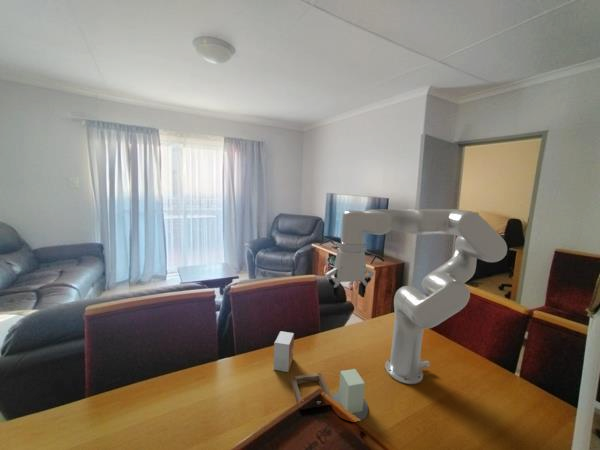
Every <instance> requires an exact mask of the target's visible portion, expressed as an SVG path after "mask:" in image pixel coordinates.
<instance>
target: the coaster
mask: <svg viewBox="0 0 600 450" xmlns="http://www.w3.org/2000/svg"><path fill="white" fill-rule="evenodd" d="M331 396H332V398H333V399H334V400H335V401H337V402H338V403H340V404H341V402H340V400H339V398H338V397H339V390H338V391H336V392H334V394H333V395H331ZM368 413H369V407H368V403H367V400H365V398H364V400H363V411H361V412H355V413H352V414H353V415H355V416H356V417H357V418H359V419H360V420H362V421H363V420H365V419H366V418H367V416H368Z"/></svg>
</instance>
